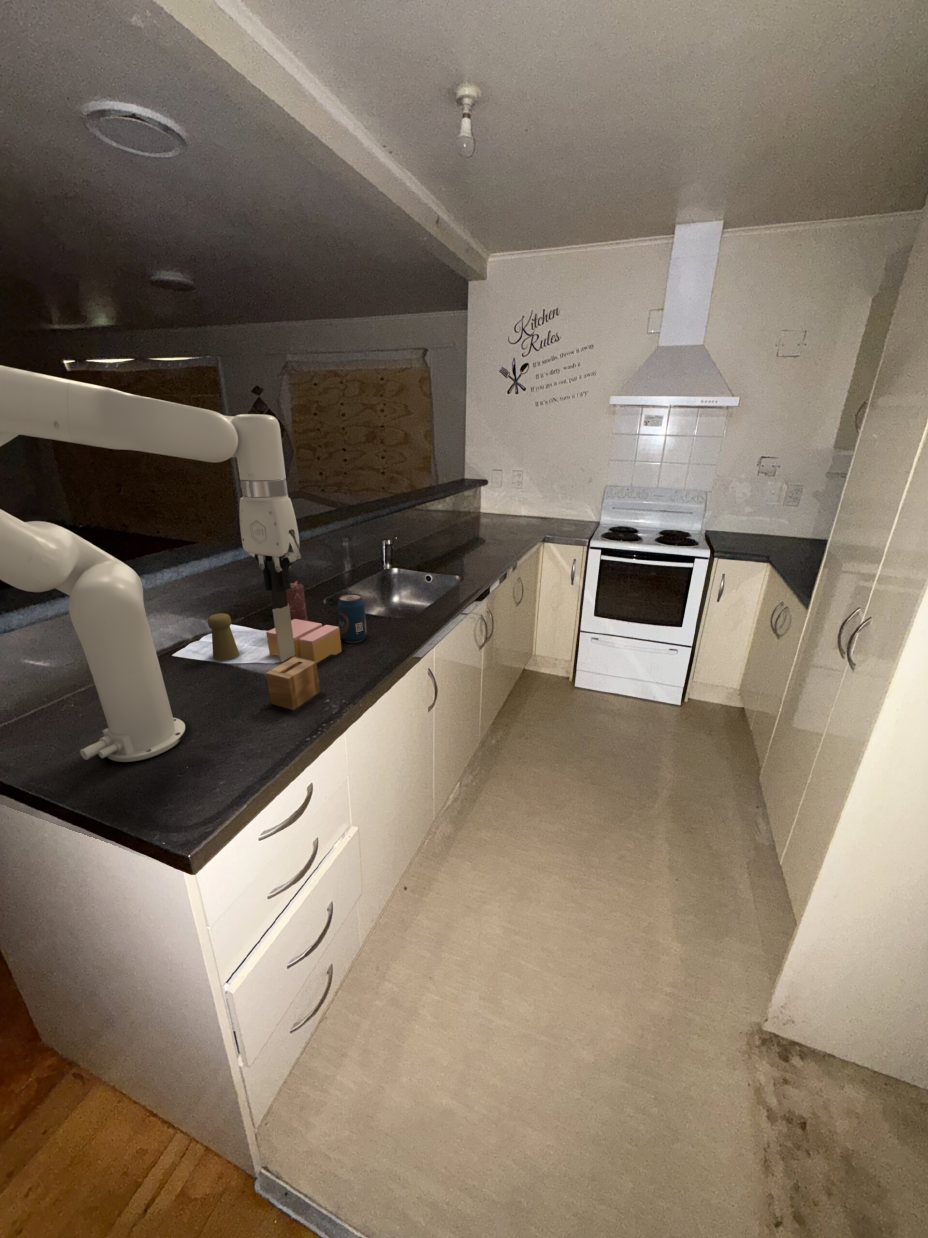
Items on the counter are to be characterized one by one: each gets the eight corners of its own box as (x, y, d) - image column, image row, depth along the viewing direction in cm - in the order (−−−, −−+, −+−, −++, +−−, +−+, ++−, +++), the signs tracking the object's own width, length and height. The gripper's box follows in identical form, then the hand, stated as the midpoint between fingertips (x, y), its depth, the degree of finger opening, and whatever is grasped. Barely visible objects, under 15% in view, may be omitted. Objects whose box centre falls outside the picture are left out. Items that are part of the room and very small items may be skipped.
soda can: (336, 638, 132) (332, 596, 128) (359, 631, 136) (355, 591, 132) (349, 646, 127) (344, 603, 123) (372, 639, 131) (368, 597, 127)
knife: (283, 663, 95) (270, 563, 88) (276, 661, 96) (262, 562, 89) (298, 655, 99) (286, 559, 91) (291, 653, 99) (278, 558, 92)
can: (312, 627, 140) (306, 580, 134) (303, 635, 134) (297, 587, 129) (292, 626, 140) (285, 580, 135) (282, 635, 134) (275, 586, 129)
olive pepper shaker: (207, 659, 120) (198, 618, 116) (224, 649, 125) (216, 609, 121) (228, 662, 118) (220, 620, 114) (244, 652, 124) (237, 611, 120)
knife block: (294, 714, 96) (288, 678, 94) (271, 707, 99) (265, 672, 96) (320, 695, 103) (316, 661, 100) (298, 689, 106) (294, 656, 103)
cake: (297, 663, 118) (294, 637, 115) (270, 657, 121) (265, 631, 119) (324, 647, 126) (322, 623, 124) (298, 642, 130) (294, 618, 127)
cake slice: (315, 667, 116) (312, 641, 113) (302, 664, 117) (298, 638, 115) (341, 651, 124) (339, 626, 122) (329, 648, 126) (326, 624, 123)
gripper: (215, 489, 85) (232, 589, 92) (283, 494, 79) (296, 601, 86) (248, 486, 92) (262, 579, 98) (314, 490, 86) (324, 589, 92)
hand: (278, 588), depth 92 cm, fingers closed on knife, 1 cm apart
